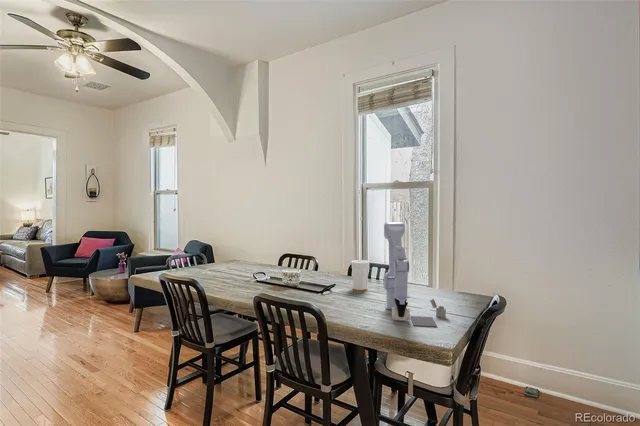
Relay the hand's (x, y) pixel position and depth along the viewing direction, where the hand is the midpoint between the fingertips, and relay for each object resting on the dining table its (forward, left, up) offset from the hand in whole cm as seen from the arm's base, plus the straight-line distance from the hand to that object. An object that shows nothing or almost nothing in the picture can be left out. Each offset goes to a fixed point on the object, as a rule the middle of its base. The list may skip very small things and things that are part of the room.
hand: (400, 315), depth 159 cm
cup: (-55, -20, -3) cm, 59 cm away
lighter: (-9, +18, -3) cm, 20 cm away
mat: (0, +10, -2) cm, 10 cm away
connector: (0, 0, -2) cm, 2 cm away
